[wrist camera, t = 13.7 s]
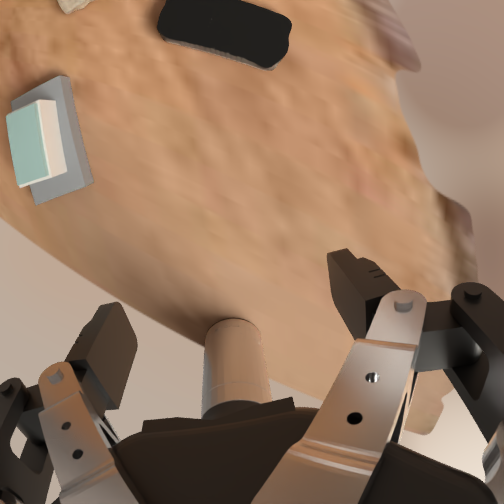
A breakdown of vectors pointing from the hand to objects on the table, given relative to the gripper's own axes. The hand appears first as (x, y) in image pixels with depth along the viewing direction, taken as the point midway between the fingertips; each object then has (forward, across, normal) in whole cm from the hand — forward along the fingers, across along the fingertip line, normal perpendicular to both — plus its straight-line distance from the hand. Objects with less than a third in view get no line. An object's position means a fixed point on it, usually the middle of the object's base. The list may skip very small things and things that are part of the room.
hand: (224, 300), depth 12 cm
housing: (+29, +22, -12) cm, 39 cm away
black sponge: (+33, -4, -19) cm, 38 cm away
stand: (+32, +22, -12) cm, 41 cm away
